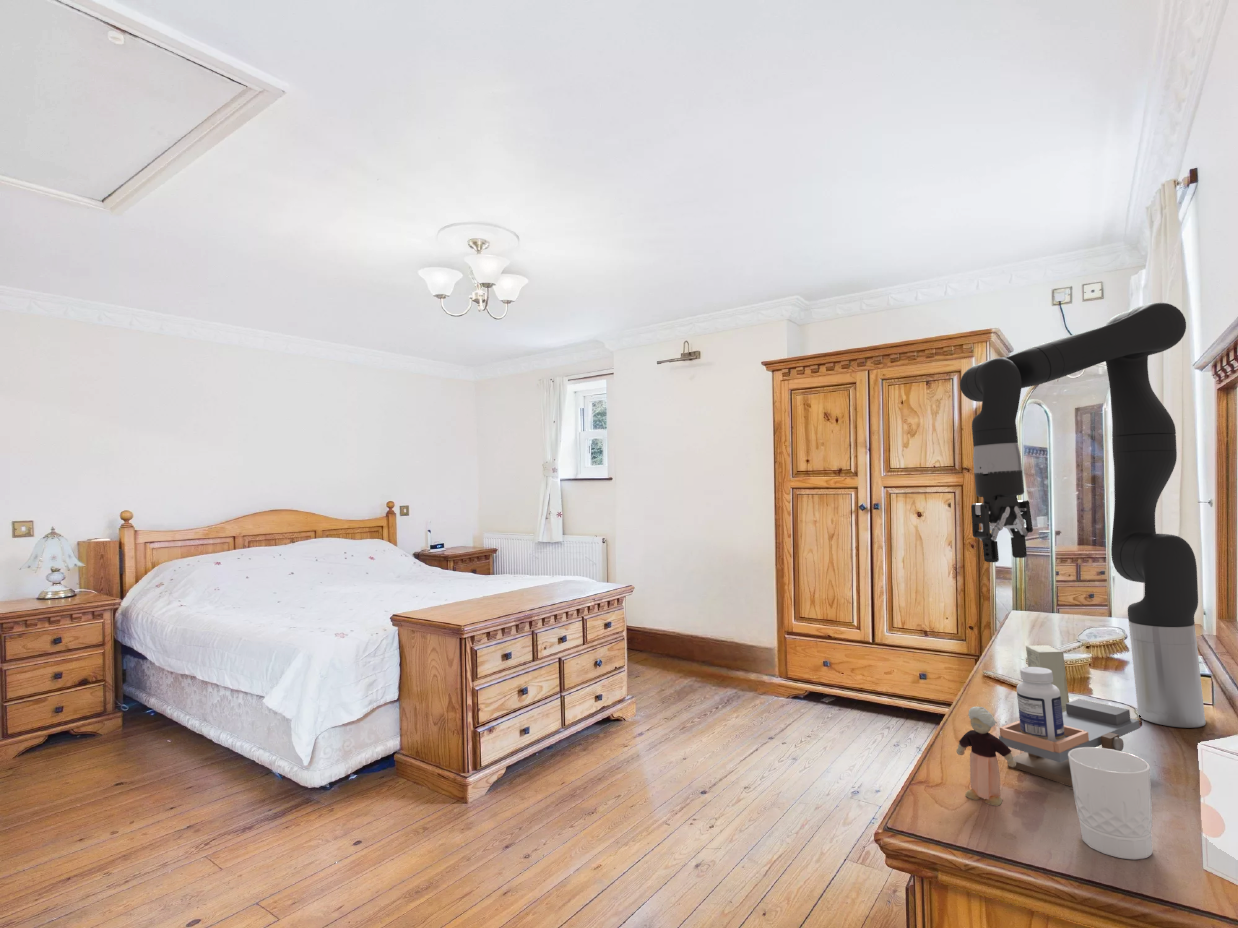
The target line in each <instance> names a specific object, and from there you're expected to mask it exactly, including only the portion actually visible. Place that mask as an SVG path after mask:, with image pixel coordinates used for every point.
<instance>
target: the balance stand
mask: <svg viewBox="0 0 1238 928" xmlns="http://www.w3.org/2000/svg"><path fill="white" fill-rule="evenodd" d="M1101 743H1102V745H1101V748H1107V749H1113V750H1118V751H1122V752H1123V749H1124V746H1125V745H1124V744H1125V743H1124V740H1123V739H1122V738H1121V737H1119V735H1118V734H1114V733H1110V732H1109V733H1107V734H1104V735H1102V736H1101ZM1013 759H1014V761H1015V762H1016V766H1015V767H1012V769H1013V768H1014V769H1015V770H1019V771H1020V770H1021V771H1023V772H1026V773H1029V774H1032V775H1035V776H1039V777H1042V778H1044V779H1048V780H1051V781H1053V782H1056V783H1060V784H1062V785H1066V786H1069V787H1072V788H1073V785H1072V778H1071V771H1070V765H1069V759H1068V760H1065V761H1063V762H1061V763H1060V762H1057V761H1053V760H1050V759H1047V758H1043V757H1040V756H1037V755H1033V754H1030V753H1027V752H1024V751H1023V752H1021V753H1019V754H1016V755H1014V756H1013ZM1007 766H1008V767H1010V766H1009V765H1008V764H1007Z"/></svg>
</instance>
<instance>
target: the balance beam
mask: <svg viewBox="0 0 1238 928" xmlns="http://www.w3.org/2000/svg"><path fill="white" fill-rule="evenodd" d="M1062 714H1063V723H1064V733H1065V739H1062V740H1060V741H1057V742H1052V741H1049V740H1045V739H1042V738H1038V737H1034V736H1031V735H1027V734H1024V733H1021V729H1020V719H1019V720H1017V721H1014V722H1011V723H1008V724H1005V725H1001V726H1000V727H998V728H999V729H998V730H999V735H998V739H999V740H1001V741H1002V742H1003V743H1004V744H1005V745H1006V746H1007V747H1008V748H1009V749H1010V748H1011V749H1014V750H1017V751H1020V752H1023V753H1024V752H1027V753H1030V754H1033V755H1037V756H1040V757H1043V758H1047V759H1050V760H1053V761H1057V762H1060V763H1061V762H1063V761H1065V760H1068V759H1069V758H1068V752H1069V751H1070V750H1072V749H1076V748H1082V747H1097V748H1099V747H1100V746H1102V743H1101V736H1102V735H1104V734H1107V733H1109V732H1110V733H1114V734H1118V735H1119V738H1121V737H1123V736H1125V735H1128V734H1130V733H1132V732H1135V731H1137V730H1139V729H1141V726H1140V725H1141V724H1140V720H1139V719H1136V718H1131V712H1130V709H1128V708H1122V707H1119V706H1115V705H1114V706H1113V705H1110V704H1104V703H1100V702H1095V701H1092V700H1085V699H1081V698H1078V699H1074V700H1072V701H1069V703H1066V711H1065V712H1063V713H1062Z"/></svg>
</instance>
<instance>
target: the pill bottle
mask: <svg viewBox="0 0 1238 928" xmlns="http://www.w3.org/2000/svg"><path fill="white" fill-rule="evenodd" d="M1019 671H1020V674H1019V675H1020V679H1021V680H1022V681H1021V682H1020V683H1018V684H1017V686H1016V695H1017V696H1016V697H1017V698H1016V699H1017V706H1018V707H1017V708H1018V718H1019V720H1020V729H1021V733H1024V734H1027V735H1031V736H1034V737H1038V738H1042V739H1045V740H1049V741H1052V742H1057V741H1060V740H1062V739H1065V733H1064V723H1063V714H1062V705H1061V696H1060V691H1059V689H1058V688H1057V687H1056V686H1055V685H1053V684H1052V683H1051V682H1053V674H1052V671H1051V670H1049V669H1046V668H1041V667H1028V666H1026V667H1025V666H1024V667H1021V668H1020V669H1019Z"/></svg>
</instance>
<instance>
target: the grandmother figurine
mask: <svg viewBox="0 0 1238 928" xmlns="http://www.w3.org/2000/svg"><path fill="white" fill-rule="evenodd" d="M967 716H968V718H969V720H970V726H971V728H972V729H971V730H968V731H967V732H966V733H964V735H963V736H962V737H961V738H960V739H959V740H958V744H957V748H956V753H957V755H958V756H964V755H965V751H966V750H967V748H968V747H971V751H970V754H969V772H970V773H969V774H970V775H969V777H970V778H969V781H970V783H969V784H970V789H968V790H966V792H965V797H966V798H968V799H970V800H980V799H983V800H984V802H985V803H986V804H987V805H991V806H994V807H995V806H996V807H997V806H1001V805H1002V802H1003V799H1002V797H1001V773H1000V766H999V760H998V756H997V754H999V755H1000V756H1001V757H1003V758H1004V759H1005V761H1007V762H1006V763H1007V766H1008V765H1009V766H1008V767H1011V768H1013V767H1015V766H1016V762H1015V761H1014V759H1013V757H1014V756H1013V754H1012V753H1011V752H1012V750H1011V749H1010V747H1007V746H1006V745H1005V744H1004V743H1003V742H1002V741H1001V740H999V737H997V736H995V735H994V734H992V733H991V732H990V731H991V730H992V728H993V727H994V726H995V725H996V724H997V721H996V720H995V717H994V716H993V714H992V713H991V712H990V711H989V710H987V708H985V707H983V706H972V707H970V708H969V710H968V715H967Z"/></svg>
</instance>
